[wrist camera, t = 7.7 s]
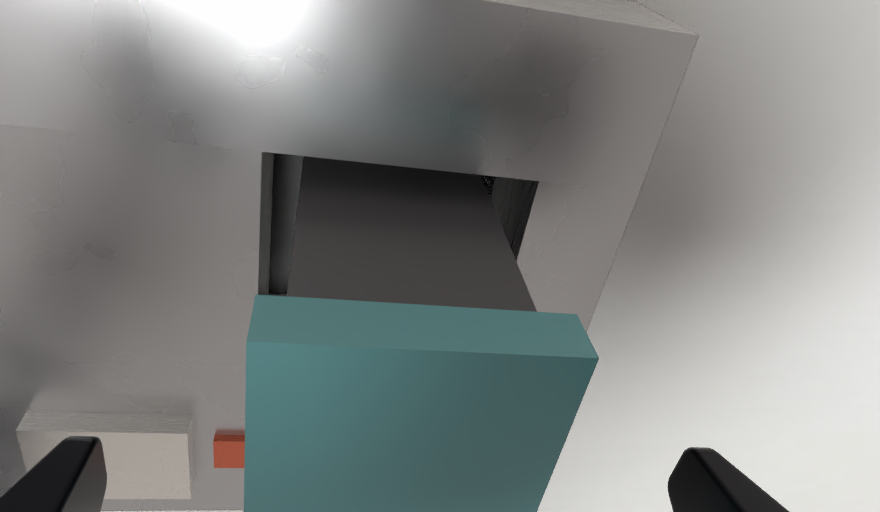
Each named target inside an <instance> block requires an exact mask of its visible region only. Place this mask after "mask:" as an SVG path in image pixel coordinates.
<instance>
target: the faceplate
mask: <svg viewBox="0 0 880 512" xmlns="http://www.w3.org/2000/svg"><path fill="white" fill-rule="evenodd" d="M698 37H699V35H697V34H695V33H693V32H691V31H689V30H688V29H686V28H684V27H682V26H680V25H678V24H676V23H675V22H673V21H671V20H669V19H667V18H665V17H664V16H662V15H660V14H658V13H656V12H654V11H653V10H651V9H649V8H647V7H645V6H643V5H641V4H640V3H638V2H635V1H629V0H0V496H1V495H2V494H4V493H5V492H6V491H7V490H8V489H9V488H10V487H11V486H12V485H13V484H15V483H16V482H17V481H18V480H19V479H20V478H21V477H22V476H23V475H24V474H26V473H27V472H28V471H29V470H30V469H31V468H32V467H33V466H34V465H35V464H37V463H38V462H39V461H40V460H41V459H42V458H43V457H44V456H45V455H46V454H48V453H49V452H50V451H51V450H52V449H53V448H54V447H55V446H56V445H58V444H59V443H60V442H61V441H62V440H63V439H65V438H67V437H70V436H95V437H98V438H99V439H100V440H101V442H102V446H103V453H104V459H105V465H106V471H107V485H106V491H105V495H104V499H103V503H102V507H101V511H148V510H244V461H245V395H246V341H247V336H248V330H249V325H250V320H251V315H252V310H253V304H254V299H255V294H256V295H272V296H287V294H277V293H269V271H270V244H271V218H272V191H273V165H274V153H279V154H289V155H298V156H307V157H317V158H326V159H336V160H345V161H355V162H364V163H373V164H383V165H392V166H402V167H411V168H420V169H430V170H439V171H449V172H458V173H467V174H477V175H486V176H495V180H494V185H493V189H492V193H491V197H490V199H491V202H492V204H493V206H494V209H495V211H496V214H497V216H498V218H499V221H500V223H501V226H502V228H503V230H504V233H505V235H506V238H507V240H508V243H509V245H510V247H511V250H512V252H513V255H514V257H515V259H516V262H517V264H518V267H519V269H520V271H521V274H522V276H523V279H524V281H525V284H526V286H527V288H528V291H529V293H530V296H531V298H532V300H533V303H534V305H535V308H536V310H537V312H549V313H565V314H577V315H578V317H579V319H580V321H581V323H582V325H583V327H584V329H585V331H587V329H588V326H589V324H590V321H591V318H592V316H593V313H594V310H595V308H596V305H597V302H598V300H599V297H600V295H601V292H602V289H603V287H604V284H605V281H606V279H607V276H608V274H609V271H610V268H611V266H612V263H613V260H614V258H615V255H616V253H617V250H618V247H619V245H620V242H621V239H622V237H623V234H624V232H625V229H626V226H627V224H628V221H629V218H630V216H631V213H632V210H633V208H634V205H635V203H636V200H637V197H638V195H639V192H640V189H641V187H642V184H643V182H644V179H645V176H646V174H647V171H648V168H649V166H650V163H651V161H652V158H653V155H654V153H655V150H656V147H657V145H658V142H659V140H660V137H661V134H662V132H663V129H664V126H665V124H666V121H667V118H668V116H669V113H670V111H671V108H672V105H673V103H674V100H675V97H676V95H677V92H678V90H679V87H680V84H681V82H682V79H683V76H684V74H685V71H686V69H687V66H688V63H689V61H690V58H691V55H692V53H693V50H694V48H695V45H696V42H697V40H698Z"/></svg>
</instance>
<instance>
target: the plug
mask: <svg viewBox="0 0 880 512" xmlns="http://www.w3.org/2000/svg"><path fill="white" fill-rule="evenodd" d="M598 359H599V357H598V355H597V353H596V351H595V349H594V347H593V345H592V343H591V341H590V339H589V337H588V335H587V333H586V331H585V329H584V327H583V325H582V323H581V321H580V319H579V317H578V315H577V314H565V313H549V312H537V310H536V308H535V305H534V303H533V300H532V298H531V296H530V293H529V291H528V288H527V286H526V284H525V281H524V279H523V276H522V274H521V271H520V269H519V267H518V264H517V262H516V259H515V257H514V255H513V252H512V250H511V247H510V245H509V243H508V240H507V238H506V235H505V233H504V230H503V228H502V226H501V223H500V221H499V218H498V216H497V214H496V211H495V209H494V206H493V204H492V202H491V199H490V197H489V194H488V192H487V189H486V187H485V185H484V182H483V180H482V177H481V175H477V174H467V173H458V172H449V171H439V170H430V169H420V168H411V167H402V166H392V165H383V164H373V163H364V162H355V161H345V160H336V159H326V158H317V157H307V156H304V159H303V167H302V175H301V183H300V191H299V199H298V207H297V215H296V223H295V231H294V239H293V247H292V256H291V264H290V272H289V280H288V288H287V296H272V295H256V294H255V299H254V304H253V310H252V315H251V320H250V325H249V330H248V336H247V341H246V395H245V461H244V512H537V510H538V507H539V505H540V502H541V500H542V497H543V495H544V492H545V490H546V487H547V485H548V482H549V480H550V477H551V475H552V473H553V470H554V468H555V465H556V463H557V460H558V458H559V455H560V453H561V450H562V448H563V445H564V443H565V441H566V438H567V436H568V433H569V431H570V428H571V426H572V423H573V421H574V418H575V416H576V413H577V411H578V408H579V406H580V404H581V401H582V399H583V396H584V394H585V391H586V389H587V386H588V384H589V381H590V379H591V376H592V374H593V372H594V369H595V367H596V364H597V362H598Z"/></svg>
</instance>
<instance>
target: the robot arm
mask: <svg viewBox="0 0 880 512" xmlns="http://www.w3.org/2000/svg"><path fill="white" fill-rule="evenodd" d="M106 485H107V471H106V465H105V459H104V453H103V446H102V442H101V440H100V439H99V438H98V437H95V436H70V437H67V438H65V439H63V440H62V441H61V442H60V443H59V444H58V445H56V446H55V447H54V448H53V449H52V450H51V451H50V452H49V453H48V454H46V455H45V456H44V457H43V458H42V459H41V460H40V461H39V462H38V463H37V464H35V465H34V466H33V467H32V468H31V469H30V470H29V471H28V472H27V473H26V474H24V475H23V476H22V477H21V478H20V479H19V480H18V481H17V482H16V483H15V484H13V485H12V486H11V487H10V488H9V489H8V490H7V491H6V492H5V493H4V494H2V495H1V496H0V512H100V511H101V507H102V503H103V499H104V495H105V491H106ZM668 493H669V497H670V501H671V505H672V508H673V512H789V511H788V510H787V509H785V508H784V507H783V506H782V505H781V504H779V503H778V502H777V501H776V500H775V499H773V498H772V497H771V496H770V495H768V494H767V493H766V492H765V491H764V490H762V489H761V488H760V487H759V486H758V485H756V484H755V483H754V482H753V481H752V480H750V479H749V478H748V477H747V476H745V475H744V474H743V473H742V472H741V471H739V470H738V469H737V468H736V467H735V466H733V465H732V464H731V463H730V462H728V461H727V460H726V459H725V458H724V457H722V456H721V455H720V454H719V453H718V452H716V451H715V450H713V449H711V448H698V447H691V448H688V449H686V450H685V451H684V452H683V454H682V456H681V457H680V459H679V461H678V463H677V465H676V466H675V468H674V470H673V472H672V474H671V475H670V477H669V481H668Z"/></svg>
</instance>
